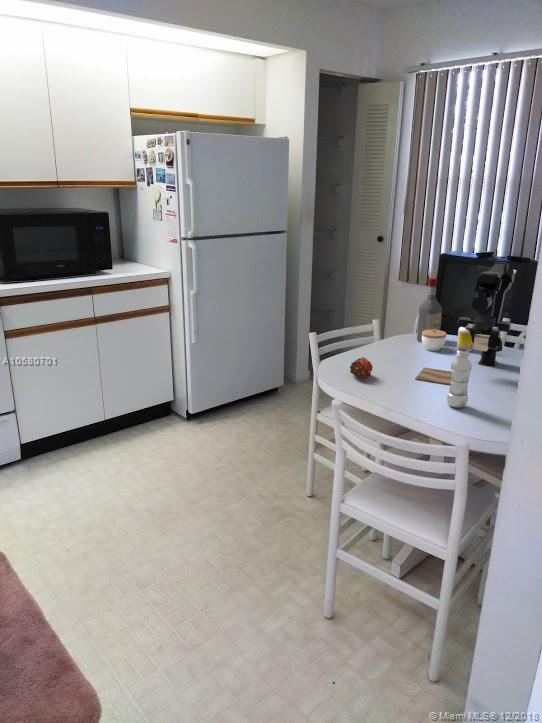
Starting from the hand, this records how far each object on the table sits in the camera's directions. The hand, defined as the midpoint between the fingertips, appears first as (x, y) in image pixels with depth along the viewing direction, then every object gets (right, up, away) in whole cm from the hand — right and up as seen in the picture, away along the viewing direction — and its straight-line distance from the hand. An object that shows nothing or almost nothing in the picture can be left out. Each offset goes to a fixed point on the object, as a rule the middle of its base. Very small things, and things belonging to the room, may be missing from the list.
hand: (481, 345), depth 206 cm
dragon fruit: (-46, -12, +4) cm, 48 cm away
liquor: (-6, +4, +49) cm, 49 cm away
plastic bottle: (-18, -22, -25) cm, 38 cm away
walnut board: (-16, -12, +2) cm, 20 cm away
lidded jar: (-8, -1, +37) cm, 37 cm away
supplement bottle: (+6, -1, +35) cm, 35 cm away
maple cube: (0, -1, 0) cm, 1 cm away
